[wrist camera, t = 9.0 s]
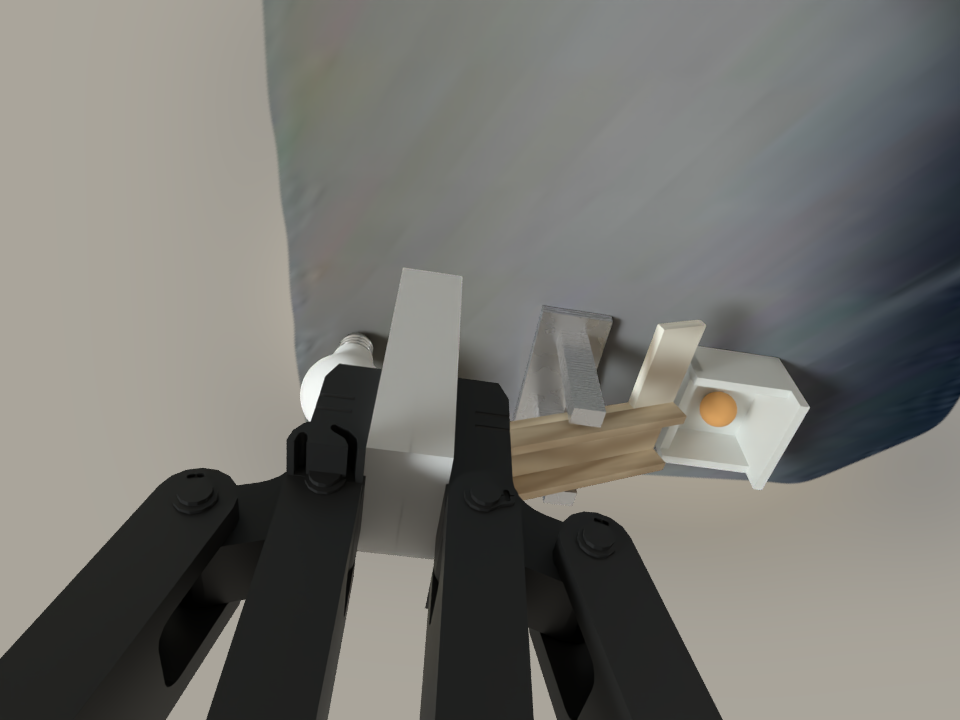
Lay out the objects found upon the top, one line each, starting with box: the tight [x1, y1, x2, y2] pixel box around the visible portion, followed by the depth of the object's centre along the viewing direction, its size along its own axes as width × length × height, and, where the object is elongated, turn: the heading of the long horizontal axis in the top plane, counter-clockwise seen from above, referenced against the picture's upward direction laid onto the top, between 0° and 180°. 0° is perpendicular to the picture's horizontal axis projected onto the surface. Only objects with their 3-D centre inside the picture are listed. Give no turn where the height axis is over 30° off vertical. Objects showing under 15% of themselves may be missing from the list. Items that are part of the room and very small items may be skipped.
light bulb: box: [300, 333, 376, 422], centre depth 55 cm, size 7×7×11 cm
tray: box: [655, 346, 810, 490], centre depth 59 cm, size 10×9×7 cm
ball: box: [700, 391, 737, 427], centre depth 60 cm, size 3×3×3 cm
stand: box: [513, 306, 613, 506], centre depth 56 cm, size 13×6×12 cm, turn 170°
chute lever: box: [510, 320, 706, 500], centre depth 50 cm, size 14×18×4 cm
